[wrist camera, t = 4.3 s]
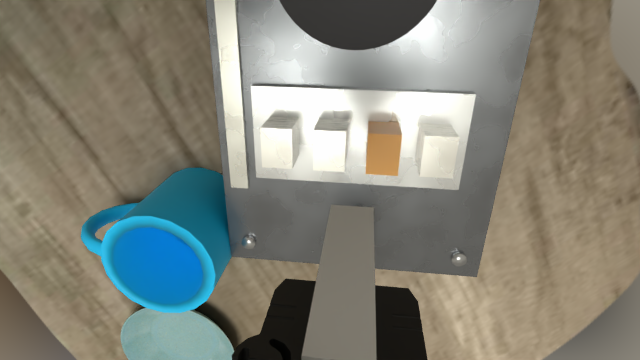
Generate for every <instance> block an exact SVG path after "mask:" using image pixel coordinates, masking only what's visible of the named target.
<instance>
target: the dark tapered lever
mask: <svg viewBox="0 0 640 360" xmlns="http://www.w3.org/2000/svg"><path fill="white" fill-rule="evenodd" d="M279 1H280V3H281V4H282V6H283V8H284V9H285V11H286V12H287V14H288V15H289V16H290V18H291V19H292V20H293V21H294V23H295V24H296V25H298V26H299V27H300V28H301V29H302V30H303V31H304V32H305V33H307V34H308V35H309V36H311V37H312V38H314V39H316V40H318V41H319V42H321V43H324V44H326V45H329V46H331V47H335V48H339V49H345V50H367V49H373V48H377V47H380V46H383V45H387V44H389V43H391V42H393V41H395V40H397V39H399V38H401V37H402V36H404V35H405V34H407V33H408V32H410V31H411V30H412V29H413V28H414V27H416V26H417V25H418V24H419V23H420V22H421V21H422V20H423V19H424V18H425V17H426V16H427V14H428V13H429V12H430V10H431V9H432V8H433V6H434V5H435V3H436V1H437V0H279Z"/></svg>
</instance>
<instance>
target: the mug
mask: <svg viewBox="0 0 640 360" xmlns="http://www.w3.org/2000/svg"><path fill="white" fill-rule="evenodd" d="M119 219H120V220H119ZM116 220H119V221H118V222H117V223H116V224H115V225H113V226H112V227H111V228H110V229H109V230H108V231H107V232H106V234H105V237H104V239H103V241H101V240H99V239H97V238H96V237H95V233H96V231H97V230H98V229H99V228H101V227H102V226H104V225H106V224H108V223H110V222H113V221H116ZM81 239H82V241H83V243H84V244H85V245H86V247H87V248H88V249H89V250H90V251H92V252H94V253H96V254H97V255H99V256H101V260H102V263H103V265H104V268H105V271H106V273H107V275H108V277H109V278H110V279H111V281H112V282H113V283H114V285H115V286H116V287H117V289H119V290H120V291H121V292H122V293H123V294H125V295H126V296H127V297H128V298H129V299H131V300H132V301H134V302H136V303H138V304H140V305H142V306H144V307H146V308H148V309H152V310H156V311H160V312H163V313H182V312H186V311H189V310H193V309H196V308H197V307H198V306H200V305H201V304H203V303H204V302H206V301H207V299H208V298H209V296H210V294H211V293H212V291H213V290H214V288H215V286H216V284H217V282H218V280H219V279H220V277H221V275H222V273H223V271H224V269H225V268H226V266H227V264H228V262H229V260H230V258H231V250H230V240H229V230H228V220H227V210H226V200H225V189H224V179H223V175H221V174H219V173H218V172H216V171H212V170H208V169H205V168H185V169H183V170H180V171H178V172H175V173H173V174H172V175H171V176H170V177H169V178H168V179H166V180H165V181H164V182H163V183H162V184H161V185H159V186H158V187H157V188H156V189H155V190H154V191H153V192H151V193H150V194H149V195H148V196H147V197H146V198H144V199H143V200H142V201H141V202H140V203H130V204H124V205H119V206H114V207H111V208H108V209H105V210H102V211H100V212H99V213H97V214H95V215H93V216H91V217H90V218H89V219H88V220H87V221H86V222H85V223H84V225H83V226H82V231H81Z"/></svg>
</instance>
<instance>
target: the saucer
mask: <svg viewBox="0 0 640 360" xmlns="http://www.w3.org/2000/svg"><path fill="white" fill-rule="evenodd" d="M121 343H122V347H123V350H124V353H125V354H126V356H127V358H128V359H129V360H232V354H233V353H234V349H233V346H232V344H231V342H230V340H229V339H228V337H227V336H226V335H225V333H224V332H223V331H222V330H221V328H220V327H219V326H218V325H217V324H215V323H214V322H213V321H212V320H211V319H209V318H208V317H206V316H205V315H203V314H201V313H199V312H197V311H195V310H189V311H186V312H182V313H163V312H160V311H156V310H152V309H148V308H143V309H141V310H139V311H137V312H135V313H134V314H132V315H131V316H130V317H128V318H127V320H126V321H125V323H124V325H123V327H122V330H121Z"/></svg>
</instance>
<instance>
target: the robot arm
mask: <svg viewBox="0 0 640 360" xmlns="http://www.w3.org/2000/svg"><path fill="white" fill-rule="evenodd" d="M232 360H427V354H426V348H425V342H424V336H423V332H422V324H421V320H420V311H419V305H418V301H417V300H416V298H415V297H414V296H413V294H412V293H411V291H410V290H409V289H408V288H398V287H387V286H375V255H374V208H373V207H359V206H344V205H331V208H330V213H329V218H328V223H327V228H326V233H325V239H324V244H323V249H322V254H321V259H320V264H319V269H318V274H317V279H316V281H306V280H295V279H285V280H284V281H283V282H282V283H281V284H280V285H279V286H278V287H277V288H276V289H275V291H274V294H273V297H272V300H271V303H270V306H269V309H268V312H267V316H266V318H265V321H264V324H263V327H262V330H261V333H260V334H259V335H256V336H253V337H250V338H248V339H246V340H245V341H244V342H242V343H241V344H240V345H238V347H237V348H236V350H235V351H234V353H233V354H232Z"/></svg>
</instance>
